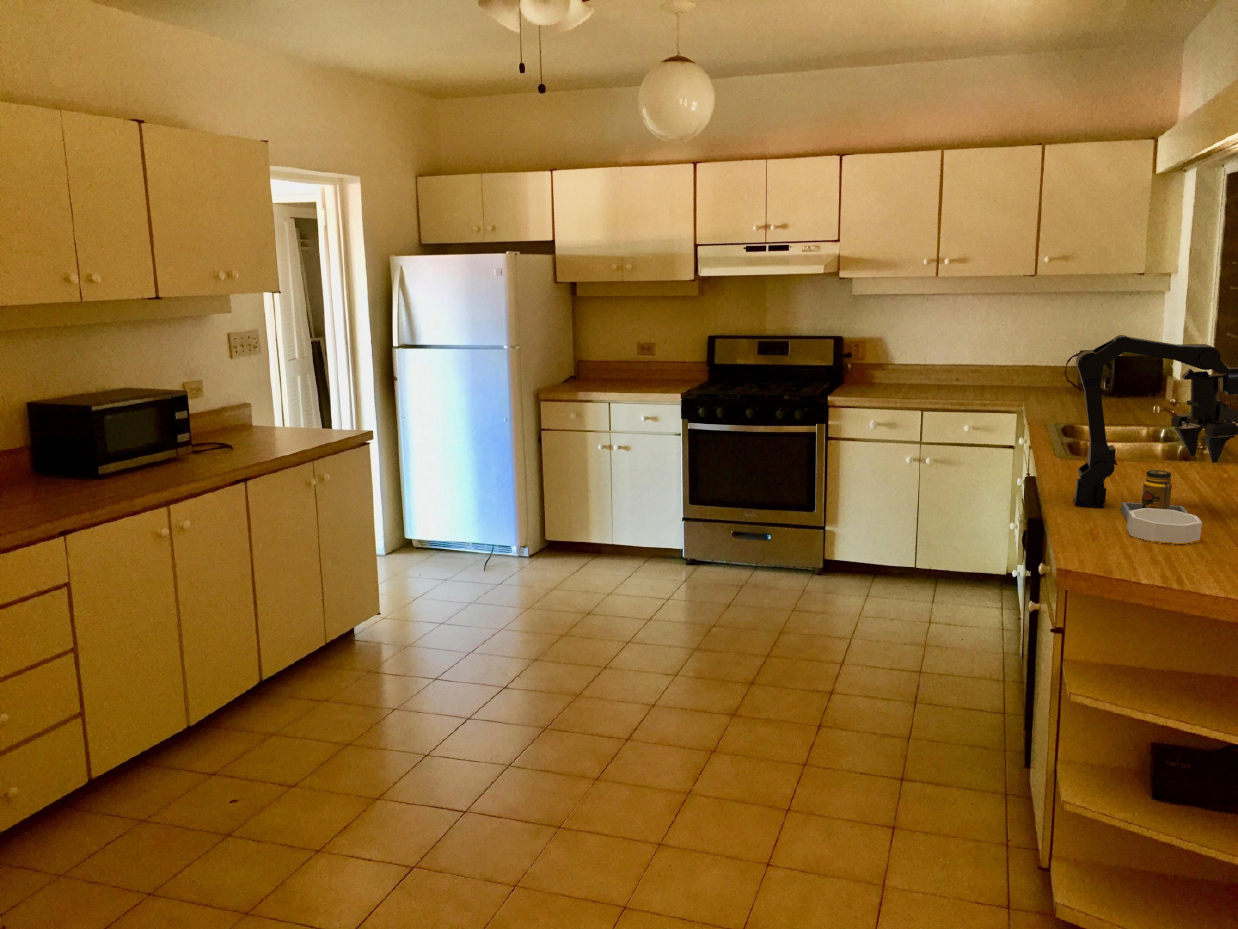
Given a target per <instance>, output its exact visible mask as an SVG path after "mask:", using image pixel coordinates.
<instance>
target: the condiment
mask: <svg viewBox="0 0 1238 929" xmlns="http://www.w3.org/2000/svg"><path fill="white" fill-rule="evenodd" d="M1171 477H1172V473H1171V472H1170V471H1168V470H1161V469H1151V470H1150V469H1149V470H1147V471H1146V476H1145V481H1144V482H1143V485H1142V486H1143V487H1142V495H1141V503H1142V505H1141V509H1143V508H1153V509H1167V510H1169V507H1170V505H1171V496H1172V490H1173V488H1172V487H1173V484H1172V483H1171V481H1172V478H1171Z"/></svg>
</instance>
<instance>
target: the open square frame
mask: <svg viewBox="0 0 1238 929" xmlns="http://www.w3.org/2000/svg"><path fill="white" fill-rule="evenodd" d="M1141 505H1142V502H1141V503H1139V502H1128V501H1121V506H1120V511H1121V512H1122V514H1123V516H1124V518H1125V519H1126V521H1127V522H1128V513H1129V511H1132V510H1137V509H1141ZM1169 510H1175V511H1179V512H1183V513H1187V514H1190V513H1189V512H1188V511H1187V510H1186V508H1185V507H1184V506H1183V505H1172V504H1170V507H1169Z"/></svg>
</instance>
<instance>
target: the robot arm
mask: <svg viewBox="0 0 1238 929" xmlns="http://www.w3.org/2000/svg"><path fill="white" fill-rule="evenodd" d="M1124 353H1129V354H1135V355H1136V354H1137V355H1142V356H1146V357H1153V358H1160V359H1167V360H1172V361H1175V362H1179V363H1181V364H1185V365H1188V366H1190V367H1194V368H1195V369H1199V370H1201V371H1194V370H1192V369H1191V368H1188V369H1187V370H1186V372H1185V373H1182V375H1181V376H1180V377H1181V378H1182V379H1183V380H1186V381H1187V380H1188V381H1189V380H1190V399H1189V400H1186V405H1187V406H1190V413H1183V414H1182V413H1181V414H1180V413H1179V414H1174V415H1173V417H1172V418H1171V420H1170V421H1171V423H1170V424H1171V427H1174V430H1175V431H1176V433H1177V434H1178V436H1179V438H1180V440H1181V441H1182V443H1183V444H1184V447H1185V448H1186V451H1187V452H1188V454H1189V456H1191V457H1195V456H1196V455H1197V449H1198V440H1199V439H1198V438H1199V434H1200V433H1201V432H1202V430H1203V431H1204V434H1205V435H1204V436H1203V437H1204V441H1205V444H1206V448H1207V450H1208V455H1209V458H1210V460H1211V463H1212V464H1215V463H1218V462H1219V459H1220V457H1221V455H1222V452H1223V449H1224V448H1225V445H1226V443H1227V442H1228V441H1230V439H1233V438H1235V437H1236V436H1237V435H1238V410H1237V409H1235V408H1230V407H1229V404H1228V403H1225V402H1223V400H1220V399H1219V390H1220V392H1224V394H1225V396H1238V367H1228V366H1227V365H1226V364H1225V363H1224V362H1223V361H1222V360H1221V358H1222V356H1221V353H1220V352H1219V350H1218V349H1217V348H1216V347H1215V346H1214V347H1213V346H1212V345H1209V344H1207V343H1205V344H1204V343H1187V344H1182V343H1181V344H1179V343H1178V344H1175V343H1169V342H1164V341H1156V340H1151V339H1144V338H1138V337H1131V336H1127V335H1125V334H1119V335H1116V336H1115V337H1114V338H1112V339H1111V340H1109V341H1108V342H1105V343H1102V344H1101V345H1099V346H1097V347H1095V348H1094V349H1093V350H1084V351H1082V352H1080V353H1079V354H1078V355H1077V357H1076V359H1075V364H1076V368H1077V371H1078V375H1079V377H1080V380H1081V383H1082V386H1083V392H1084V399H1085V400H1084V401H1085V410H1086V417H1087V428H1088V436H1089V442H1088V451H1087V460H1086V462H1085V463H1084V464H1082V465H1081V466H1080V467H1079V468H1077V473H1078V476H1079V478H1076V481H1075V490H1074V491H1075V493H1074V497H1073V503H1074V505H1075V506H1077V507H1087V508H1089V507H1090V508H1104V505H1105V504H1106V498H1107V496H1106V495H1107V487H1106V486H1105V480H1106V479H1107V478H1109V477H1110V476H1112V474H1113V473H1115V472H1114V471H1115V466H1118V463H1117V460H1116V448H1115V447H1114V445H1113V444H1111V445H1109V444H1108V441H1107V435H1106V434H1107V433H1106V426H1105V425H1106V424H1105V416H1104V409H1103V408H1104V407H1103V399H1102V398H1103V397H1102V390H1101V389H1102V382H1103V375H1104V374H1103V373H1104V366H1105V365H1107V364H1109V363H1111V362H1112V361H1114V360H1115V359H1116V358H1117V357H1119V356H1121V355H1122V354H1124ZM1209 370H1212V371H1214V372H1216V374H1215V373H1213V374H1210V373H1209V372H1208V371H1209Z"/></svg>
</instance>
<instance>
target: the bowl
mask: <svg viewBox="0 0 1238 929" xmlns="http://www.w3.org/2000/svg"><path fill="white" fill-rule="evenodd" d="M1126 524H1127V525H1126V531H1127V530H1128V531H1127V533H1128V532H1129V533H1128V535H1129V536H1130V535H1131V536H1134V537H1133V538H1135V537H1137V538H1136V539H1138V538H1141V539H1140V540H1142V539H1144V540H1143V541H1145V540H1151V541H1160V542H1173V543H1187V542H1192V541H1197V540H1200V541H1201V534H1202V527H1203V522H1202V520H1201V519H1200V518H1199V517H1198V516H1197V515H1195V514H1190V513H1189V514H1187V513H1183V512H1179V511H1175V510H1167V509H1153V508H1143V509H1137V510H1132V511H1129V513H1128V521H1127V522H1126ZM1131 536H1130V537H1131Z"/></svg>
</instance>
